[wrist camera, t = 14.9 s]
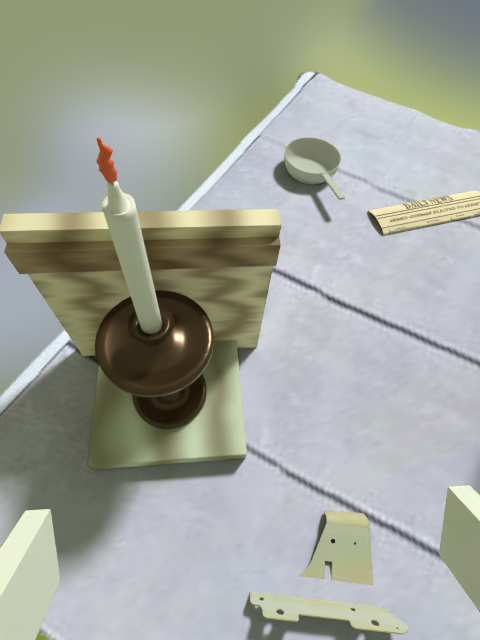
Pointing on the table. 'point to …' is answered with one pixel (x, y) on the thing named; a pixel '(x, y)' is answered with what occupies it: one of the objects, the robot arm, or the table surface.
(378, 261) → the table surface
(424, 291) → the table surface
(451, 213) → the newspaper
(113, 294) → the pale wooden blocky structure
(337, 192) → the small pan
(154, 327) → the candlestick
